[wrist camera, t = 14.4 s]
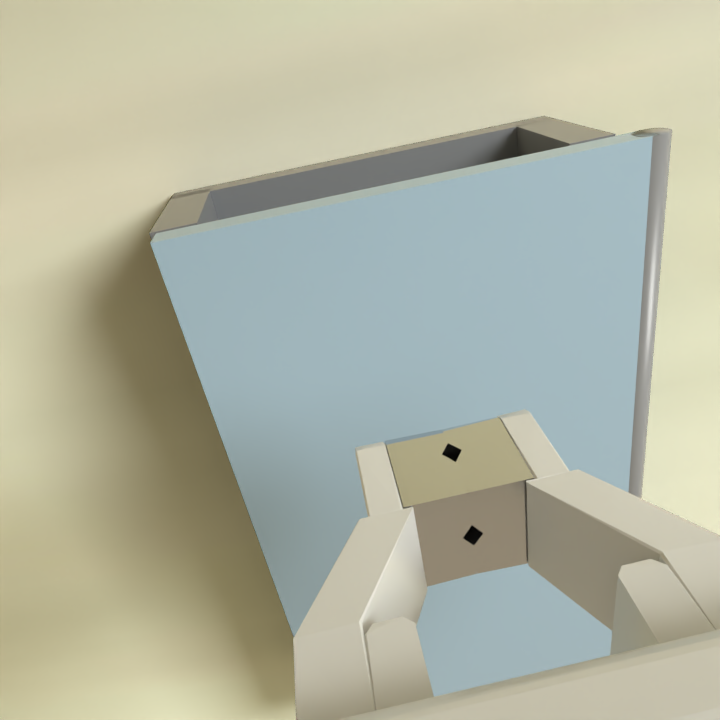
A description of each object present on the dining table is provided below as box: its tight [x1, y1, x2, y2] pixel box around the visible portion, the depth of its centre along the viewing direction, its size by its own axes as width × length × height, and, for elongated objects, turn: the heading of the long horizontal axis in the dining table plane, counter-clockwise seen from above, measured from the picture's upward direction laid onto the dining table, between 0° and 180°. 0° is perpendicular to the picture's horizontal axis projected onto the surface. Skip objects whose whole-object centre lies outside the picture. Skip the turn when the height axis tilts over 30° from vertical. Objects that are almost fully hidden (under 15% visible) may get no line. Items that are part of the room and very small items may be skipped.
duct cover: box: [150, 128, 672, 697], centre depth 20 cm, size 24×13×1 cm, turn 10°
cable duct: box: [149, 116, 615, 240], centre depth 22 cm, size 24×12×4 cm, turn 10°
